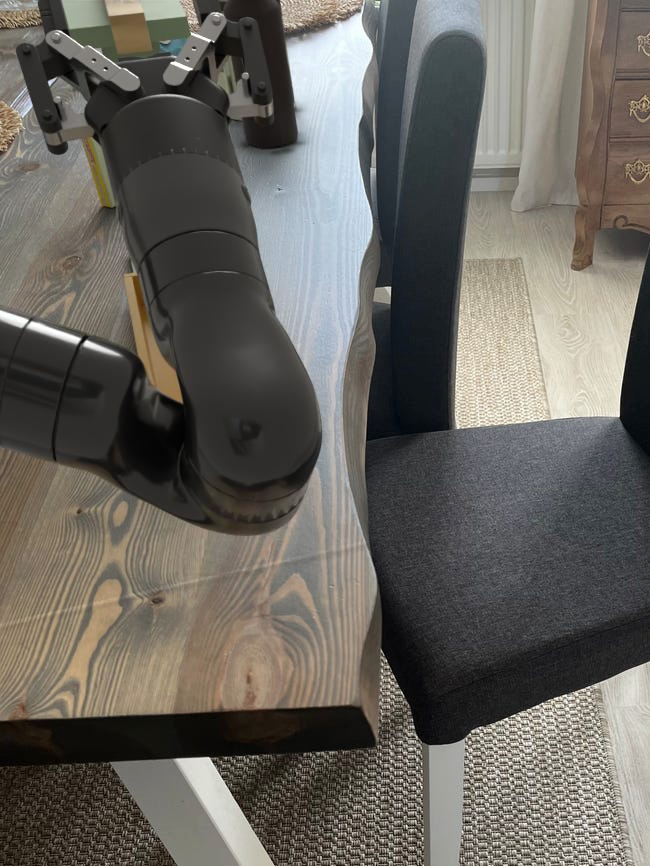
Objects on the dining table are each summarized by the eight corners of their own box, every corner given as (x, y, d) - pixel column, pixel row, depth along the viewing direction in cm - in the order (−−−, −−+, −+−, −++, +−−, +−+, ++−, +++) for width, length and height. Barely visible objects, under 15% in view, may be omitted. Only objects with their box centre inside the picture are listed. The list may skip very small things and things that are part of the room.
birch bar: (152, 51, 77) (143, 12, 75) (118, 54, 77) (108, 15, 75) (130, -10, 91) (123, -44, 89) (101, -7, 90) (92, -42, 88)
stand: (241, 288, 101) (187, 16, 84) (140, 306, 99) (63, 29, 82) (221, 233, 111) (168, -22, 94) (129, 248, 108) (57, -11, 91)
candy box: (192, 159, 127) (177, 87, 121) (205, 161, 126) (190, 89, 120) (98, 205, 117) (77, 129, 111) (112, 209, 116) (91, 133, 110)
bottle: (244, 133, 132) (211, -47, 118) (295, 128, 134) (269, -52, 119) (248, 151, 128) (215, -34, 114) (301, 145, 129) (275, -39, 115)
